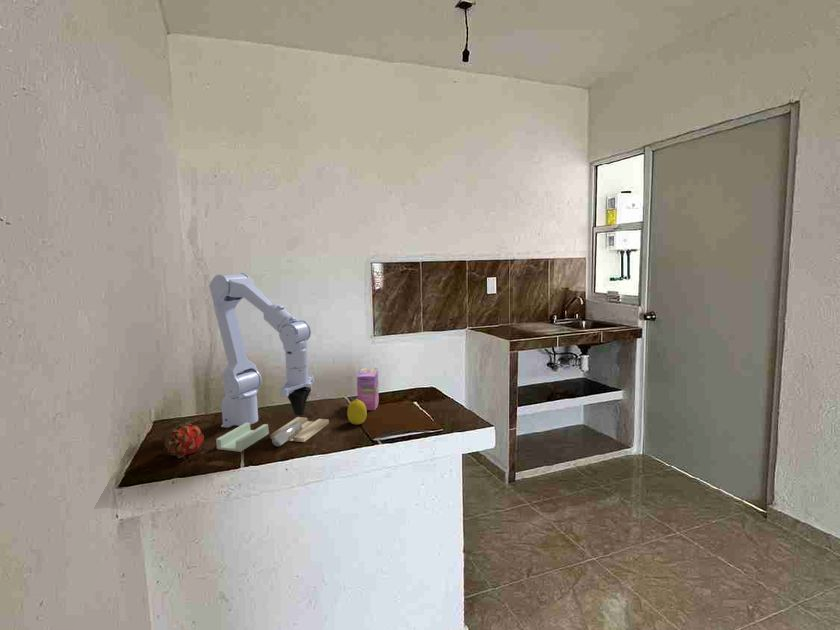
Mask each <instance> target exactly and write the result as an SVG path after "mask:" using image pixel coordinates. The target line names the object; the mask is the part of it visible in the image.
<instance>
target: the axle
mask: <svg viewBox="0 0 840 630" xmlns="http://www.w3.org/2000/svg"><path fill="white" fill-rule="evenodd" d="M301 430H302V425H301V423H300V422H298V421H296V422H294V423H292V424H291V425H289V426H288V427H286V428H285V429H283V430H282V431H280V432H279V433H277V434H276V435H274V436H273V437H272V439H271V443H272V444H273V446H276V447H278V448H279V447H281V446H282V445H284V444H285V443H286V442H288V440H289V439H290V438H292V437H293V436H295V435H296V434H297V433H299V432H300V431H301Z"/></svg>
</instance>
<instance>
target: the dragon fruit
mask: <svg viewBox="0 0 840 630" xmlns="http://www.w3.org/2000/svg"><path fill="white" fill-rule="evenodd" d="M164 438H165V442H164V447H163V451H164V452H166V453H167V455H168V456H175V457H176V458H178V459H181V458H183V457H184V459H185V458H187V455H191V454H195V453H199V452H200V446H201V445H202V443H203V442H204V441H205V436H204V433H202V431H201V429H200V428H199V426H197V425H196V424H195V425H193V424H192V423H189V422H188V423H187V422H186V423H185V424H184V425H182V426H181V425H179V426H177V427H175V428H173V431H171V432H168V433H165V434H164Z"/></svg>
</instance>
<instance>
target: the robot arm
mask: <svg viewBox="0 0 840 630" xmlns="http://www.w3.org/2000/svg"><path fill="white" fill-rule="evenodd" d="M208 286H209V290H210V294H211V297H212V302H213V303H212V304H213V309H214V314H215V316H216V321H217V324H218V330H219V334H220V338H221V341H222V345H223V349H224V353H225V357H226V361H227V366H226V367H225V369H224V370H223V372H222V374H221V375H222V389H223V391H224V393H225V396H224V397H223V398H222V402H221V415H222V417H221V419H222V424H221V426H220V427H221V428H226V429H227V428H231V427H232V426H238V427H239V426H241V425H243V424H244V423H250V425H253V424H255V423H257V422H258V421H259V413H258V412H259V410H258V408H259V407H258V396H257V393H259V388H260V387H261V386H262V384H263V383H262V382H263V379H262V376H261V373H260V372H259V370H258V368H257V366H256V363H254V362H252V361H250V360H249V359H248V355H247V351H246V346H245V344H244V339H243V335H242V331H241V327H240V323H239V320H238V319H239V318H238V315H237V311H236V307H237V305H238V303H239V302H241V301H242V300H243V299H245V300H246V301H247V302H249V303H251V305H253V306H254V307H255V308H256V309H257V310H259V311H260V312H261V313H263V320H264V321H265V322H267V323H268V325H270V326H271V327H272V328H273V329H274V331H276V332H278V335H279V340H280V341H281V342H282V343H281V344H282V345H283V347H282V348H283V350H284V353H285V354H284V356H285V370H286V371H285V373H286V377H285V378H286V382H285V384H284V385H283V386H282V387H281V388H280V389H279V396H280V397H283V398H287V399H288V400H289V402H290V405H291V408H292V410H293V412H294V416H299V417H300V416H301V417H302V416H303V415H305V409H306V404H307V401H308V397H309V395H310V393H311V390H312V388H311V387H310V386H312V385H313V383H315V375H314V374H309V366H308V365H309V363H308V362H309V360H308V344H307V343H308V340H309V339H310V338H311V334H312V331H311V327H310V325H309V324H308V323H307V321H306V320H301V319H300V320H299V319H297V318H296V316H293V315H292V314H291V313H289V312H288V310H287V309H285V308H286V307H285V306H284V305H283V304H279V303H272V302H271V301H270V299H269V298H267V296H265V294H264V293H263V292H262V291H261V290H260V289H259V288H258V287H257V286H256V285H255V281H254V279H253V278H252V277H250V275H248V274H247V273H245V272H239V273H234V274H233V273H231V274H222V273H221V274H216V275H215V276H214V277H212V279H211V281H210V283H209V285H208Z"/></svg>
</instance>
